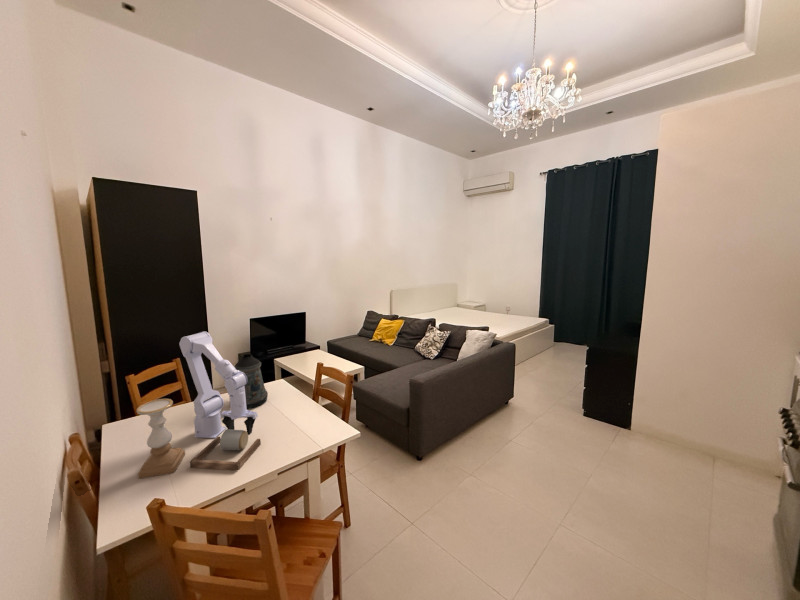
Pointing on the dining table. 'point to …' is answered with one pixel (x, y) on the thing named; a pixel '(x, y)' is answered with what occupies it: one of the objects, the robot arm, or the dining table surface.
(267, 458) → the dining table surface
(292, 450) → the dining table surface
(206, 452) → the walnut dock
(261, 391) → the beer stein
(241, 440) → the ceramic mug
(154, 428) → the candle holder
